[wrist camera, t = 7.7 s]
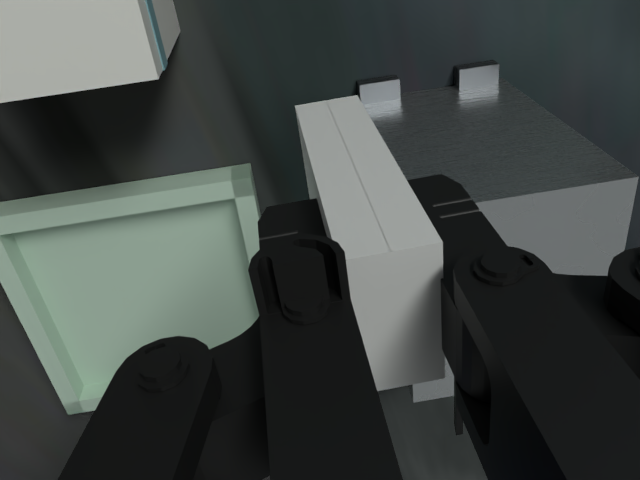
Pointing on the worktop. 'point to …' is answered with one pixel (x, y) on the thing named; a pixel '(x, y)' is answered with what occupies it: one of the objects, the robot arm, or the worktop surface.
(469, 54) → the worktop surface
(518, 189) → the box
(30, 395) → the worktop surface
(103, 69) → the block
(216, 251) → the tray
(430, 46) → the worktop surface
